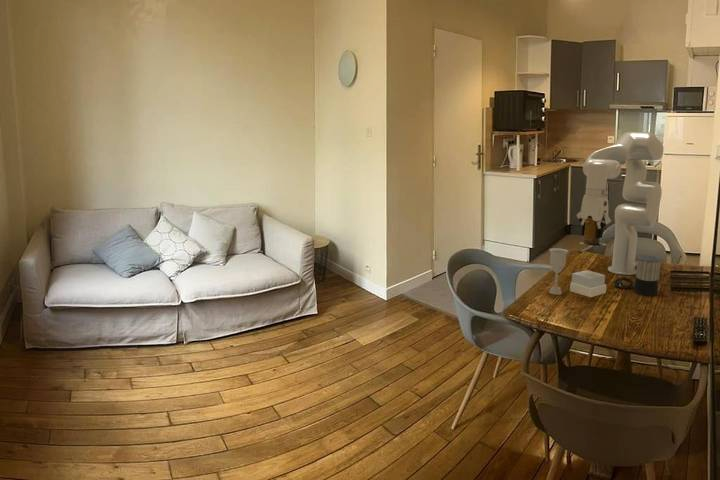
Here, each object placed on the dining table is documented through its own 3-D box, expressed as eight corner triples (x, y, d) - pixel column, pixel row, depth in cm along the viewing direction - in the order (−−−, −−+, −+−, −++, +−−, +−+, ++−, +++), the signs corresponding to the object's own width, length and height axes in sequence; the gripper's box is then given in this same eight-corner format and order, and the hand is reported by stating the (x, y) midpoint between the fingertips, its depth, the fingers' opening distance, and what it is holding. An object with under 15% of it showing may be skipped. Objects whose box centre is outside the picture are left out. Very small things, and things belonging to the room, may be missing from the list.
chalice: (544, 293, 244) (547, 251, 240) (548, 289, 250) (551, 247, 246) (563, 296, 241) (566, 253, 237) (566, 291, 247) (569, 249, 243)
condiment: (588, 241, 247) (590, 212, 244) (607, 244, 241) (610, 215, 238) (578, 243, 242) (581, 214, 240) (598, 247, 236) (600, 217, 233)
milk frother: (660, 296, 240) (664, 261, 237) (619, 294, 243) (622, 259, 240) (651, 286, 254) (655, 252, 250) (612, 284, 257) (615, 250, 253)
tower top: (586, 279, 252) (586, 270, 251) (604, 284, 244) (605, 275, 243) (571, 282, 247) (572, 273, 246) (590, 288, 240) (590, 278, 239)
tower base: (584, 287, 253) (585, 278, 252) (605, 293, 245) (606, 284, 244) (569, 292, 248) (570, 282, 247) (590, 298, 240) (591, 288, 239)
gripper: (620, 194, 232) (616, 239, 236) (583, 189, 246) (579, 231, 251) (608, 196, 228) (604, 241, 232) (571, 190, 243) (568, 233, 247)
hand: (591, 236), depth 241 cm, fingers closed on condiment, 6 cm apart
